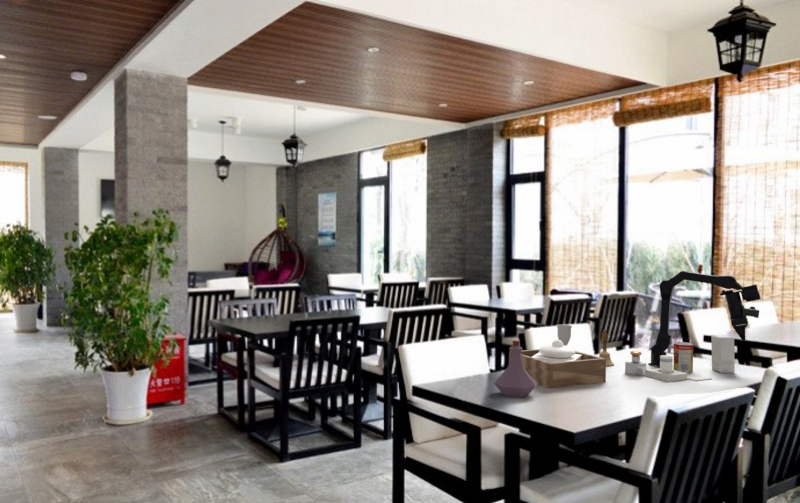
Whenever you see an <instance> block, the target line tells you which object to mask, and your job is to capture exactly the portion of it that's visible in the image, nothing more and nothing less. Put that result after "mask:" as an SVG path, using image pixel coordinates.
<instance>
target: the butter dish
mask: <svg viewBox="0 0 800 503" xmlns="http://www.w3.org/2000/svg"><path fill="white" fill-rule="evenodd" d="M538 349H539V353H537V354H535V355H534V356H532V357H533V358H536V359H539V360H543V361H546V362H550V363H555V362H566V361H577V360H581V357H582V355H580V354H575V353H576V352H575V351H576V349H574V348H573V347H571V346H568V345H566V346H564V344H563V342H562V341H561V340H559V339H555V340H553V341H552V343H551V344H548V345H547V344H546V345H543V346H541V347H539V348H538Z"/></svg>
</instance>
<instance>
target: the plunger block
mask: <svg viewBox="0 0 800 503" xmlns="http://www.w3.org/2000/svg"><path fill="white" fill-rule="evenodd" d="M624 363H625V364H624V373H625V374H628V375H631V376H635V377H638V376H639V377H640V376H645V370H647V362H642V361H640V363H637V364H635V363H632V360H629V361H628V360H627V361H625V362H624Z"/></svg>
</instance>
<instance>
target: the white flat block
mask: <svg viewBox="0 0 800 503" xmlns="http://www.w3.org/2000/svg"><path fill="white" fill-rule="evenodd" d="M687 375H688V372H680V371H676V370H674V369H672V373H662V372H660V367H658V368H657V367H656V368H649V369H647V368H646V370H645V375H644V376H645V377H650V378H653V379H657V380H660V381H665V382H675V381H683V380H684V381H685V380H688V379H687Z"/></svg>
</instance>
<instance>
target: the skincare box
mask: <svg viewBox="0 0 800 503" xmlns="http://www.w3.org/2000/svg"><path fill="white" fill-rule="evenodd" d="M710 336H711V341H710V342H711V369H712V370H713V371H716V372H719V373H722V374H726V373H727V374H733V373H735V369H736V368H735V337H733V336H729V335H725V334H724V335H723V334H719V335H710Z"/></svg>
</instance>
